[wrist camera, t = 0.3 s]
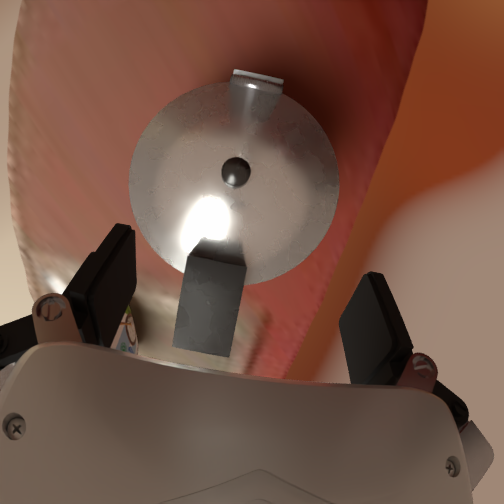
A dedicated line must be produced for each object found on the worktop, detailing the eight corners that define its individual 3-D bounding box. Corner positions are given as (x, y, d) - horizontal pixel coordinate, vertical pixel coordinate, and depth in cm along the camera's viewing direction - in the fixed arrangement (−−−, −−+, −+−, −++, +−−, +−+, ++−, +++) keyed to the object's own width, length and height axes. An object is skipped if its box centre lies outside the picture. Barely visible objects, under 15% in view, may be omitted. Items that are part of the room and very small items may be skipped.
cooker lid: (165, 69, 26) (161, 55, 23) (346, 108, 28) (356, 98, 25) (105, 322, 26) (95, 329, 23) (300, 359, 28) (307, 370, 25)
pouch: (117, 341, 66) (92, 410, 50) (107, 281, 56) (66, 358, 39) (148, 348, 67) (127, 420, 50) (143, 289, 57) (110, 371, 40)
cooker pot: (194, 64, 35) (170, 60, 25) (322, 91, 37) (345, 98, 27) (169, 231, 49) (148, 274, 39) (274, 252, 51) (277, 300, 41)
